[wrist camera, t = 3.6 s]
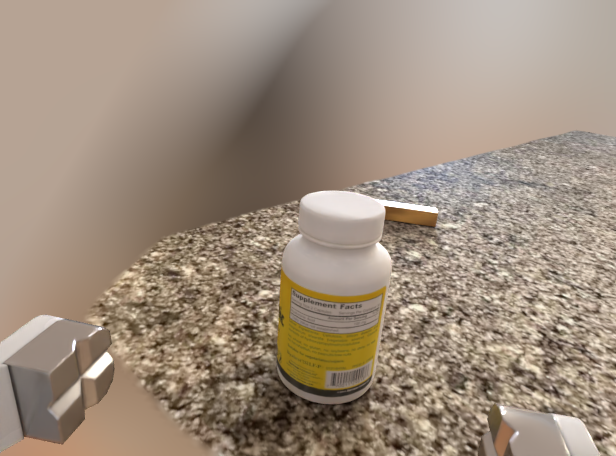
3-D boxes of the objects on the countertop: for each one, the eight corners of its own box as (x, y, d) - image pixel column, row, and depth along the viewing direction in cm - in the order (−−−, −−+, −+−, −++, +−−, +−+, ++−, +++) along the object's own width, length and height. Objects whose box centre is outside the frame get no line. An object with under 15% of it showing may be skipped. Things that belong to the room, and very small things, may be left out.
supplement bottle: (301, 330, 27) (315, 179, 23) (385, 359, 25) (414, 200, 22) (255, 384, 23) (264, 206, 19) (354, 425, 21) (385, 236, 17)
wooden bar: (341, 213, 47) (343, 199, 47) (343, 208, 49) (344, 195, 48) (435, 227, 46) (438, 212, 45) (434, 221, 47) (437, 208, 47)
